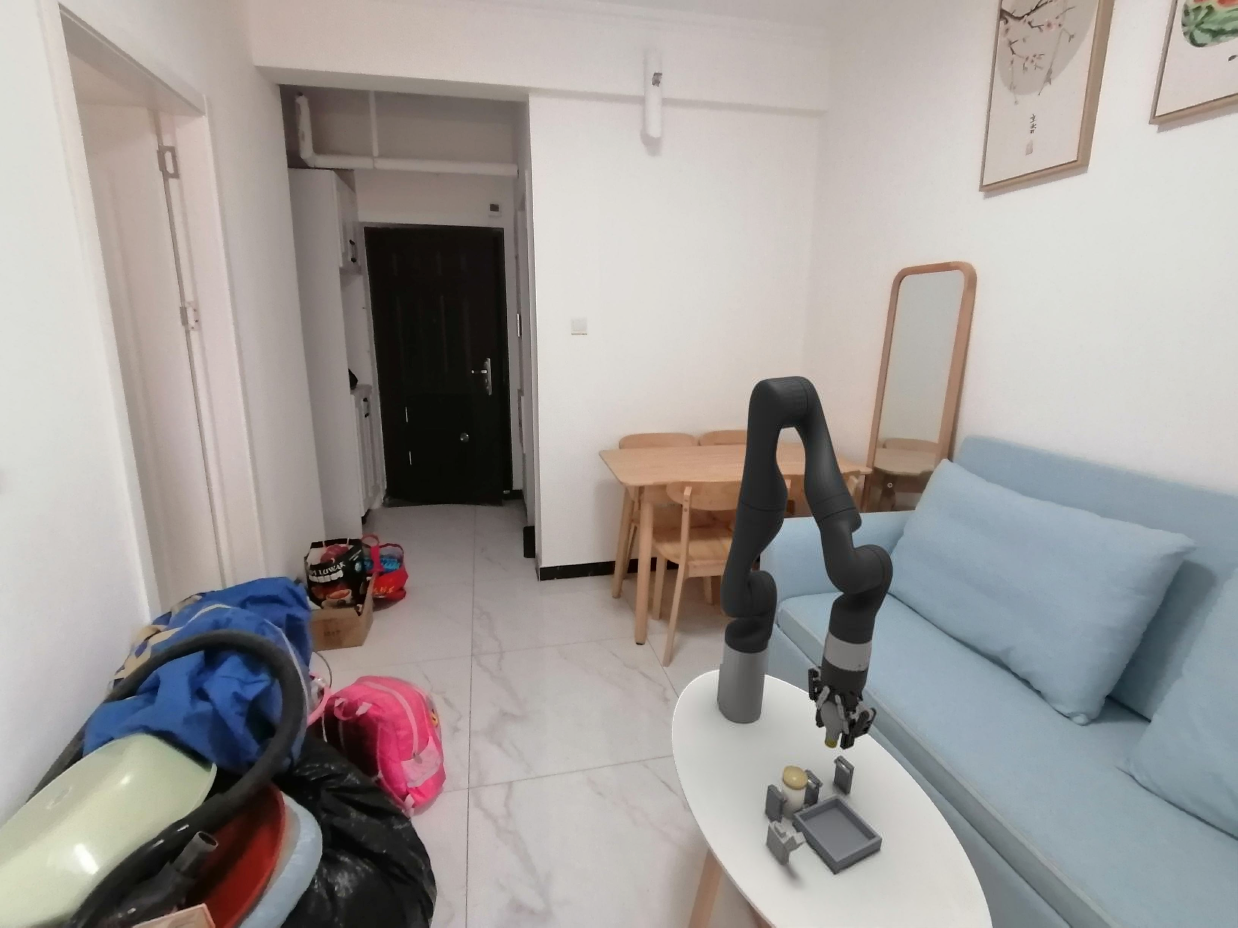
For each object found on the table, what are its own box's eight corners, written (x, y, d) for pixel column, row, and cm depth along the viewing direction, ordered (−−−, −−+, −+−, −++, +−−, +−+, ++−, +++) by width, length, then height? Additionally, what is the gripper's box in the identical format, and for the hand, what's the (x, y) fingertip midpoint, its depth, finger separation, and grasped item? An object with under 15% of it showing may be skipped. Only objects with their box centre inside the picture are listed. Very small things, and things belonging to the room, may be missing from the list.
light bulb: (848, 760, 106) (858, 715, 103) (816, 754, 107) (825, 709, 104) (843, 737, 111) (853, 693, 108) (813, 732, 112) (821, 688, 109)
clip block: (764, 812, 108) (767, 785, 106) (837, 780, 115) (841, 755, 113) (776, 826, 105) (779, 799, 103) (850, 793, 112) (854, 766, 111)
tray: (792, 825, 105) (793, 813, 105) (835, 805, 110) (837, 794, 109) (834, 873, 97) (836, 861, 96) (880, 849, 101) (882, 838, 100)
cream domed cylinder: (773, 806, 109) (777, 770, 107) (791, 797, 111) (795, 762, 109) (789, 824, 106) (794, 787, 103) (808, 815, 107) (812, 779, 105)
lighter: (765, 843, 102) (769, 805, 99) (773, 840, 102) (778, 802, 100) (792, 880, 95) (798, 840, 93) (801, 876, 96) (807, 837, 94)
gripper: (800, 638, 108) (789, 716, 113) (863, 685, 96) (848, 771, 101) (831, 628, 111) (820, 705, 116) (896, 673, 99) (880, 757, 104)
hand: (833, 735), depth 108 cm, fingers closed on light bulb, 5 cm apart
